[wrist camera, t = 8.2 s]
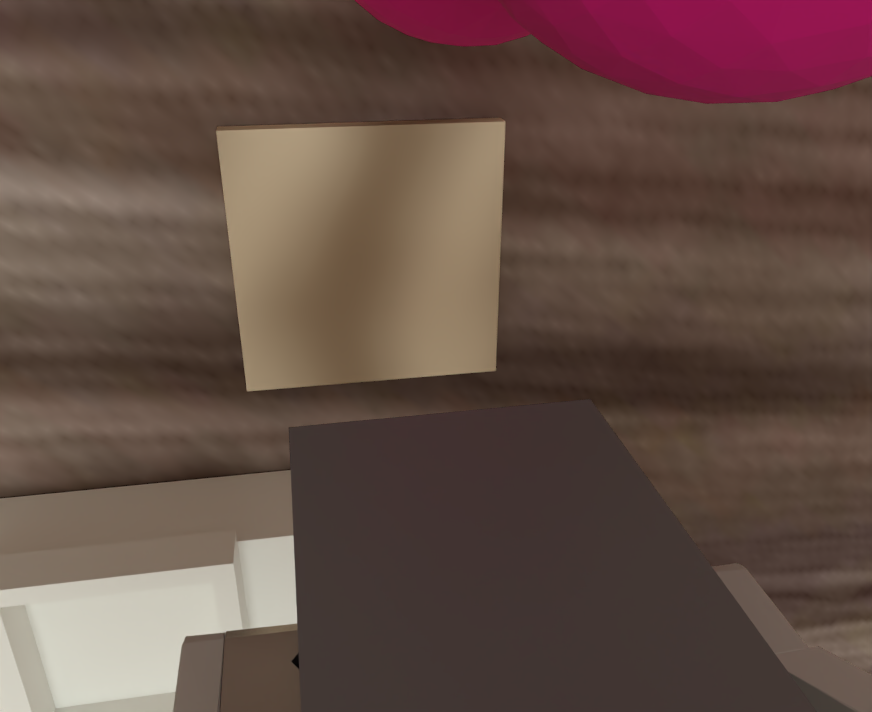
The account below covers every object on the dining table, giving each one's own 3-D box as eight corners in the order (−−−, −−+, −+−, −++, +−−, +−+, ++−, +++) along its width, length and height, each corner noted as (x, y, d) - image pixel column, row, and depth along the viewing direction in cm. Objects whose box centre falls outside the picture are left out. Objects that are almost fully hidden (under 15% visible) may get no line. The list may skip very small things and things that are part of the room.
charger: (590, 398, 12) (849, 755, 7) (568, 621, 14) (752, 1033, 9) (288, 427, 11) (307, 854, 6) (310, 658, 13) (339, 1132, 8)
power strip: (543, 434, 29) (603, 543, 23) (532, 582, 32) (583, 708, 26) (-338, 519, 24) (-508, 676, 19) (-251, 681, 27) (-376, 856, 22)
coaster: (500, 117, 23) (505, 121, 23) (491, 362, 27) (495, 370, 26) (217, 126, 22) (216, 130, 22) (247, 382, 26) (246, 391, 25)
